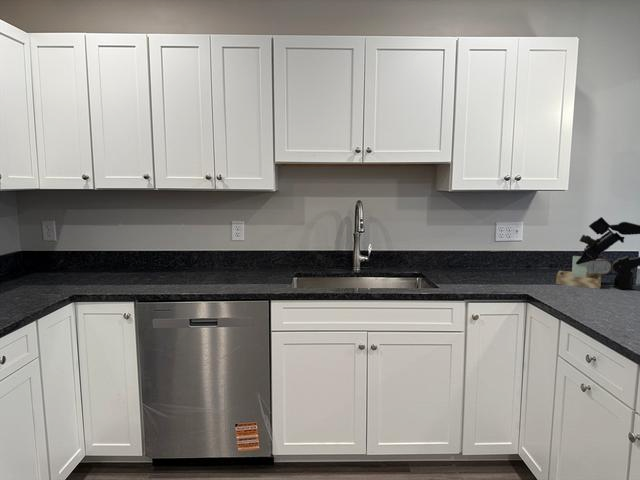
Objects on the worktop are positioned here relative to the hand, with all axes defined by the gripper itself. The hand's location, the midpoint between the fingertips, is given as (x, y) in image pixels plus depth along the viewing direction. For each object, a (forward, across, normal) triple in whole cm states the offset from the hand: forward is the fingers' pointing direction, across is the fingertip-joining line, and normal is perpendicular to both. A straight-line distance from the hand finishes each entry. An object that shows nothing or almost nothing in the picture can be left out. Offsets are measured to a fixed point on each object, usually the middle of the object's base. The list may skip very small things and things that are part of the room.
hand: (576, 262), depth 203 cm
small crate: (+4, 0, +6) cm, 7 cm away
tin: (+2, -35, +13) cm, 37 cm away
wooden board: (+6, 0, +8) cm, 10 cm away
